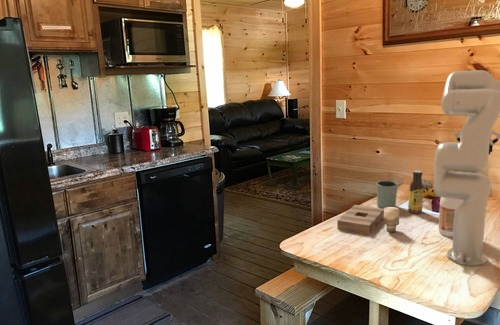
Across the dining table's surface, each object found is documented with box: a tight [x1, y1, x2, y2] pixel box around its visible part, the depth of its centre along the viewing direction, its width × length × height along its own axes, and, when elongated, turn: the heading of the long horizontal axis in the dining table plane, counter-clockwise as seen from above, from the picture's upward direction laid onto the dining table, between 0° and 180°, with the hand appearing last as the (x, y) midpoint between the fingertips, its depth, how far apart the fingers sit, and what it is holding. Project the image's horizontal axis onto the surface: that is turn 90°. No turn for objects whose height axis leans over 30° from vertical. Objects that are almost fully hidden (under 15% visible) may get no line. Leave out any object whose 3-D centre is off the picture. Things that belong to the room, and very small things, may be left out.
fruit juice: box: [438, 170, 464, 238], centre depth 161 cm, size 9×9×28 cm
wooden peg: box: [383, 206, 400, 233], centre depth 169 cm, size 6×6×10 cm
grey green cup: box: [376, 180, 399, 209], centre depth 198 cm, size 10×10×12 cm
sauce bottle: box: [407, 170, 425, 214], centre depth 187 cm, size 7×6×20 cm
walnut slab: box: [336, 204, 384, 235], centre depth 180 cm, size 22×14×4 cm, turn 146°
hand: (476, 153), depth 172 cm, fingers open, 9 cm apart
